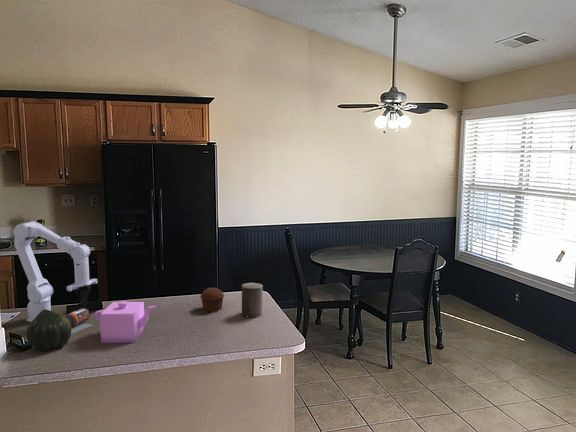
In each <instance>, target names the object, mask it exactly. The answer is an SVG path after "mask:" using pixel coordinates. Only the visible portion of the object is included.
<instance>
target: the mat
mask: <svg viewBox="0 0 576 432" xmlns="http://www.w3.org/2000/svg"><path fill="white" fill-rule="evenodd" d="M91 327H94V324H91V323H88V322H83V323H81V324H79V325H77V326H75V327H71V335H73V334H77V333H79V332H81V331H84V330H86V329H89V328H91Z"/></svg>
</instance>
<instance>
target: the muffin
mask: <svg viewBox="0 0 576 432" xmlns="http://www.w3.org/2000/svg"><path fill="white" fill-rule="evenodd" d="M224 297H225V295H224V292H223V291H222V290H221V289H220V288H217V287H208V288H206V289H205V290H203V292H201V294H200V299H201V305H202V310H203V311H204V310H205V312H207V311H209V312H211V313H214V312H213V311H215V312H219V311H221V310H222V308H223V299H224ZM220 309H221V310H220ZM218 310H219V311H218Z"/></svg>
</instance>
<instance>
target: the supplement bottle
mask: <svg viewBox="0 0 576 432" xmlns="http://www.w3.org/2000/svg"><path fill="white" fill-rule="evenodd" d="M65 317H66V318H67V319H68V320H69V322H70V324H71V327H75V326H77V325H79V324H81V323H86V322H87V321H88V320H89V319H90V317H91V314H90V311H89V310H88V309H87V308H85V307H82V308H79V309H77V310H75V311H72V312H70V313H68V314H67V315H65Z"/></svg>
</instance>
